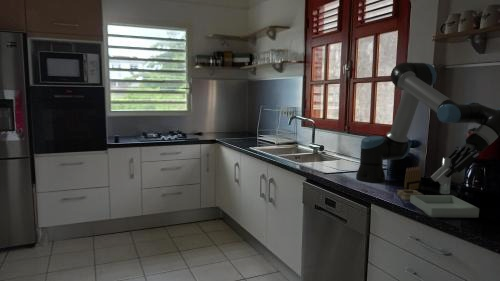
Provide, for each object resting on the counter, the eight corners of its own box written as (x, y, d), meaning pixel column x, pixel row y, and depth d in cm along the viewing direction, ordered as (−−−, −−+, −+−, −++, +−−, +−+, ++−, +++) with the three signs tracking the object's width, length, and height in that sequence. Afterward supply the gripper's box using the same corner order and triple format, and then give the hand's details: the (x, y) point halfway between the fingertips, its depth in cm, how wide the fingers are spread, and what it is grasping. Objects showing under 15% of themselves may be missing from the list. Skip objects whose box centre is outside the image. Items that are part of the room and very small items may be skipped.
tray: (409, 203, 155) (410, 195, 155) (451, 203, 156) (452, 195, 155) (431, 217, 138) (431, 208, 137) (478, 217, 138) (479, 208, 137)
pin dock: (397, 196, 166) (397, 189, 166) (414, 196, 166) (414, 189, 166) (404, 201, 158) (405, 194, 158) (422, 201, 159) (423, 194, 158)
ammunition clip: (417, 189, 179) (419, 165, 177) (421, 190, 177) (422, 166, 176) (403, 192, 174) (404, 167, 172) (406, 193, 172) (407, 168, 171)
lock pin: (437, 191, 147) (440, 157, 145) (446, 191, 147) (449, 157, 145) (442, 194, 144) (445, 159, 142) (451, 194, 144) (454, 159, 142)
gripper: (501, 149, 135) (453, 192, 137) (473, 143, 151) (431, 182, 153) (488, 134, 134) (440, 178, 136) (462, 130, 151) (419, 169, 152)
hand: (435, 180), depth 145 cm, fingers closed on lock pin, 3 cm apart
